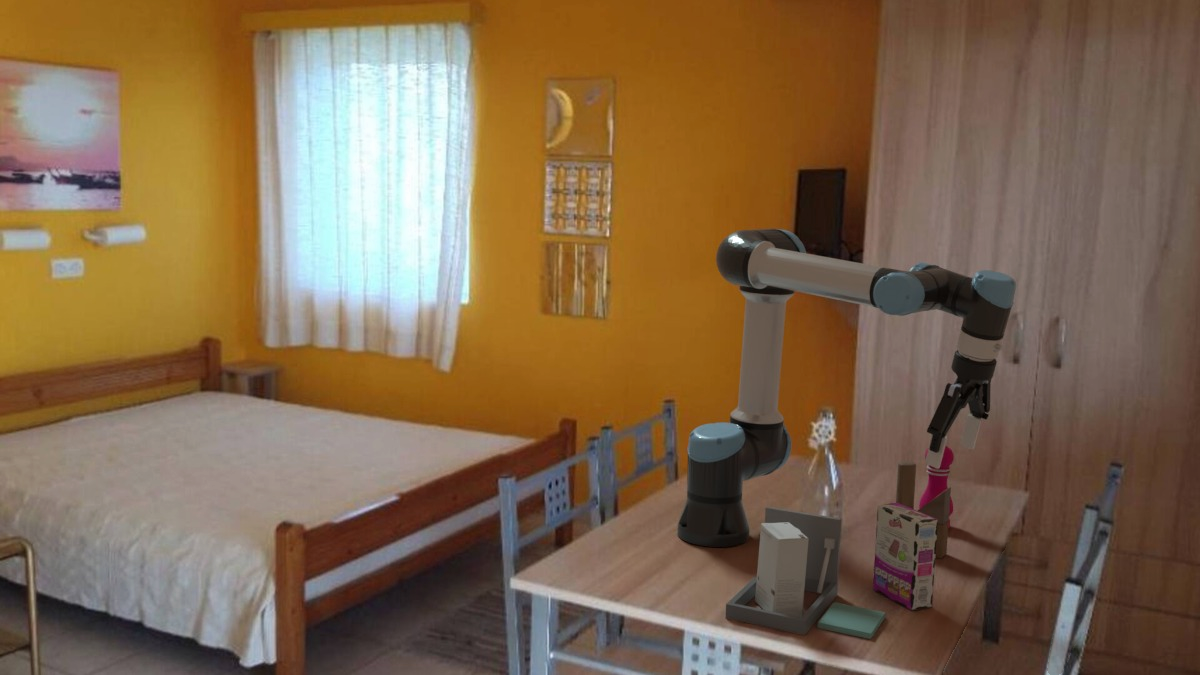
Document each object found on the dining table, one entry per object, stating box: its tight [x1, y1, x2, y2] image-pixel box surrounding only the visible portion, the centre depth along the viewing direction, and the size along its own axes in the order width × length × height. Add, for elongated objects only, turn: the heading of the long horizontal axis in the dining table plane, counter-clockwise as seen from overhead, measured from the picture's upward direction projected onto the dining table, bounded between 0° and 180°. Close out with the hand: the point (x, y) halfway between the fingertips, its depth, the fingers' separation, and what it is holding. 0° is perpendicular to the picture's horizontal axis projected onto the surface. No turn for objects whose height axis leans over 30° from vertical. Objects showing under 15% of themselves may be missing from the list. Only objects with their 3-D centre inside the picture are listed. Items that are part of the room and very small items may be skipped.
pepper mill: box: [918, 445, 955, 530], centre depth 231 cm, size 7×7×20 cm
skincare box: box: [754, 522, 809, 617], centre depth 184 cm, size 8×6×15 cm
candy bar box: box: [872, 502, 938, 611], centre depth 190 cm, size 11×5×16 cm, turn 24°
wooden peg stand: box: [895, 460, 952, 559], centre depth 216 cm, size 4×11×18 cm, turn 53°
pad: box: [817, 601, 886, 640], centre depth 180 cm, size 9×10×1 cm
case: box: [725, 506, 842, 636], centre depth 186 cm, size 14×20×14 cm
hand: (949, 456), depth 202 cm, fingers open, 13 cm apart
